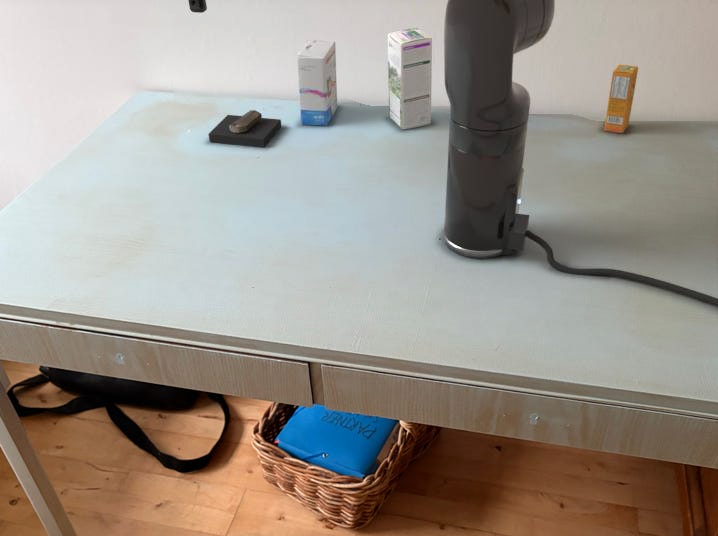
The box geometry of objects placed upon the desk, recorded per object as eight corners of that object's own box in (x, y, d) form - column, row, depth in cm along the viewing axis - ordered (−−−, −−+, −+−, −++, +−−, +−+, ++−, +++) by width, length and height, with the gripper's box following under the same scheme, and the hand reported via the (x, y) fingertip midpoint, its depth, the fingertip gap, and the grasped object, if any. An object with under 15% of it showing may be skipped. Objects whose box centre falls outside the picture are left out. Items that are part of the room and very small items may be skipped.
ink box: (328, 126, 129) (324, 56, 121) (300, 125, 130) (294, 55, 122) (339, 106, 135) (335, 39, 128) (312, 105, 136) (307, 38, 128)
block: (263, 121, 128) (262, 111, 127) (244, 135, 124) (243, 124, 123) (245, 118, 130) (244, 107, 128) (226, 132, 126) (224, 121, 124)
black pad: (281, 127, 130) (280, 119, 129) (264, 147, 124) (263, 139, 123) (229, 122, 132) (227, 114, 131) (209, 142, 126) (208, 133, 125)
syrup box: (432, 124, 128) (434, 36, 119) (400, 130, 127) (400, 42, 117) (417, 112, 132) (419, 26, 123) (387, 118, 131) (386, 32, 121)
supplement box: (607, 123, 126) (619, 62, 119) (628, 126, 124) (641, 66, 118) (601, 130, 124) (613, 69, 117) (622, 134, 122) (635, 73, 116)
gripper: (191, -127, 87) (215, 19, 98) (241, -145, 97) (257, -11, 108) (135, -127, 89) (164, 17, 100) (189, -144, 99) (210, -13, 110)
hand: (212, 2), depth 104 cm, fingers open, 8 cm apart
